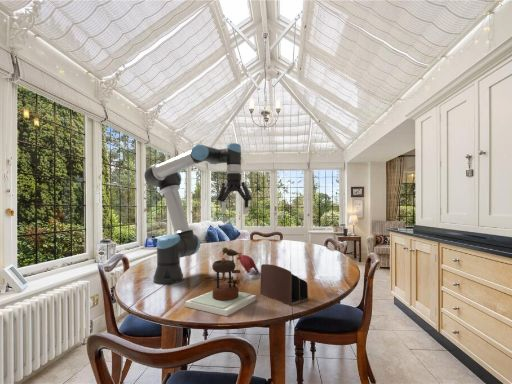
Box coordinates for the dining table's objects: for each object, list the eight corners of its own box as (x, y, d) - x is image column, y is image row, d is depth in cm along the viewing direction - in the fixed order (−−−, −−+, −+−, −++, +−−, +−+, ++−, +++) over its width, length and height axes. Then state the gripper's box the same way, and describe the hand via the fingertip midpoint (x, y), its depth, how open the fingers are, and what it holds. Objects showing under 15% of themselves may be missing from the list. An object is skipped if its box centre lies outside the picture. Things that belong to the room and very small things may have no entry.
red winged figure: (248, 274, 185) (232, 257, 184) (259, 264, 186) (242, 247, 185) (252, 287, 157) (233, 267, 156) (265, 275, 158) (246, 254, 157)
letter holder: (290, 306, 115) (290, 269, 116) (259, 294, 131) (259, 262, 132) (308, 301, 121) (307, 266, 122) (276, 290, 137) (276, 259, 138)
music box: (237, 290, 128) (238, 244, 127) (245, 300, 117) (246, 250, 116) (202, 294, 122) (203, 246, 121) (207, 305, 112) (208, 252, 111)
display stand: (185, 306, 116) (185, 300, 116) (217, 293, 133) (217, 287, 133) (226, 316, 105) (226, 309, 105) (255, 300, 122) (255, 294, 122)
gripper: (258, 172, 151) (258, 214, 151) (219, 175, 164) (219, 213, 163) (250, 171, 145) (250, 214, 144) (210, 174, 158) (210, 214, 157)
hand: (234, 214), depth 154 cm, fingers open, 13 cm apart
